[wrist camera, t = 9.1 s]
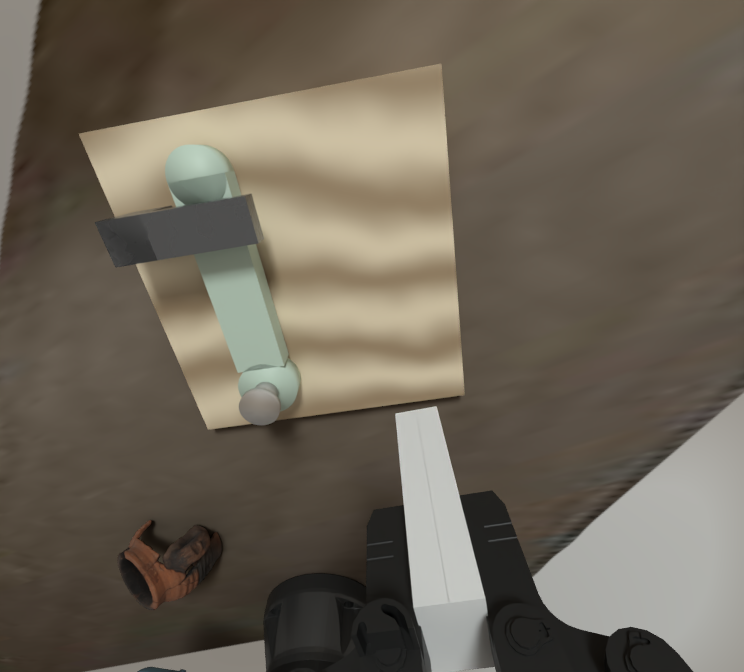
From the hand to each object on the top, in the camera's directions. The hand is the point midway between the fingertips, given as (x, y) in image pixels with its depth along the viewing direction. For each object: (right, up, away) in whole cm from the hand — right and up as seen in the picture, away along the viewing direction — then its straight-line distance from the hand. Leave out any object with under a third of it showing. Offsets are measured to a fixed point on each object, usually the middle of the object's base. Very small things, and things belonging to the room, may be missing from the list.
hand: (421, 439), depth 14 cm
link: (-12, +7, +17) cm, 22 cm away
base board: (-8, +9, +18) cm, 22 cm away
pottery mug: (-24, -20, +33) cm, 45 cm away
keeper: (-14, +12, +15) cm, 24 cm away
